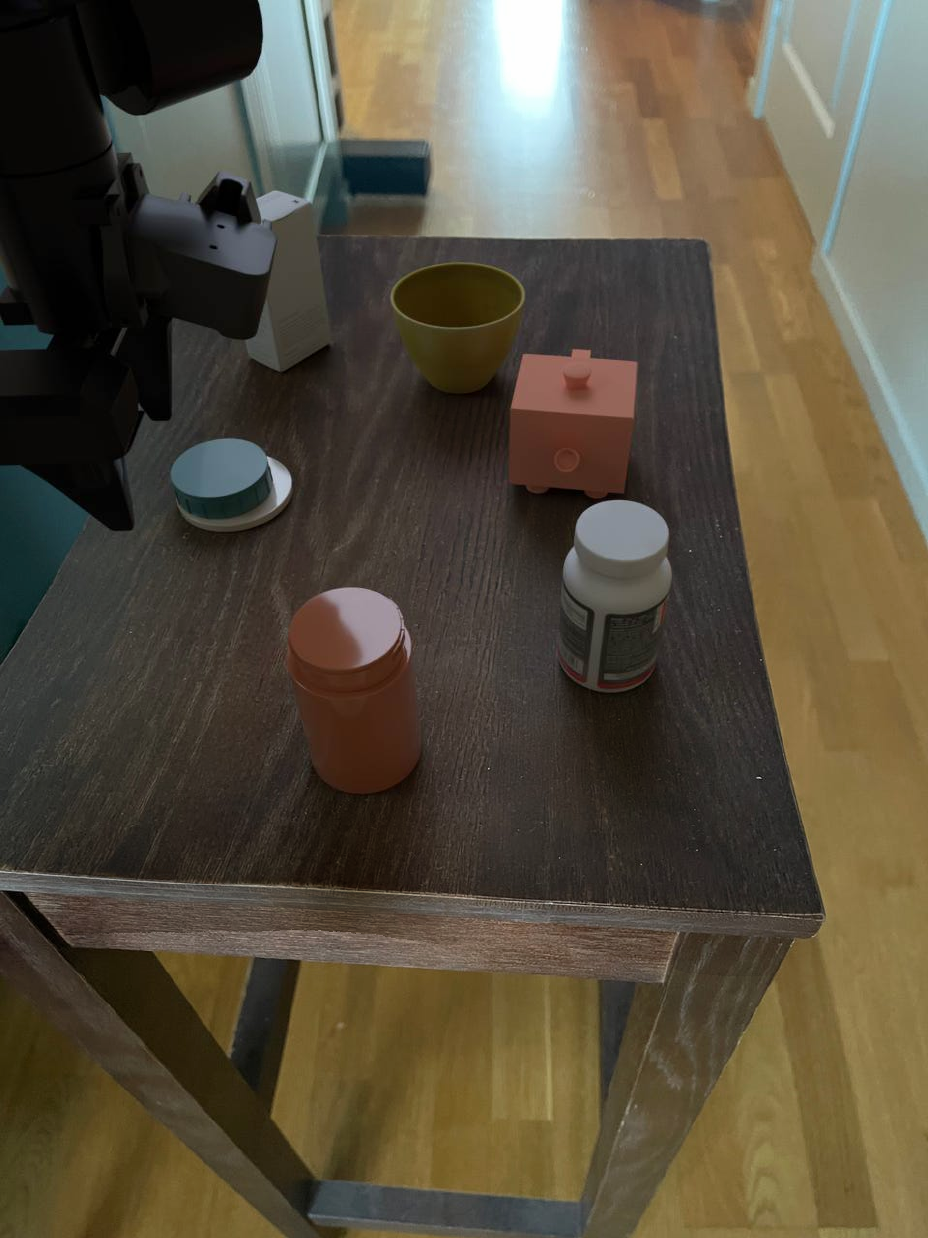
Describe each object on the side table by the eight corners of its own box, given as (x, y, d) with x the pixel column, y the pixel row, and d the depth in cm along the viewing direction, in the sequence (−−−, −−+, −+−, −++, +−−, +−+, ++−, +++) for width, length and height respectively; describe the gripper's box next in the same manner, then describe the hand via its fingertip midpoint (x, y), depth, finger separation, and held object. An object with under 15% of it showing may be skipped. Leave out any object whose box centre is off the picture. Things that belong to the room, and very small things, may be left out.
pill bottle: (664, 634, 54) (690, 505, 47) (645, 707, 51) (670, 579, 43) (570, 613, 56) (581, 484, 48) (544, 682, 52) (553, 554, 45)
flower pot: (542, 396, 71) (546, 311, 66) (420, 425, 69) (414, 339, 64) (495, 334, 78) (496, 252, 73) (382, 358, 76) (374, 276, 71)
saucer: (201, 547, 60) (198, 541, 60) (162, 483, 65) (160, 476, 65) (311, 505, 63) (310, 498, 63) (266, 446, 68) (265, 440, 67)
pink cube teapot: (502, 525, 61) (503, 422, 55) (523, 421, 69) (527, 321, 63) (619, 537, 60) (634, 433, 54) (627, 430, 68) (641, 328, 62)
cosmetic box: (298, 328, 79) (274, 185, 70) (335, 345, 77) (315, 199, 69) (245, 359, 76) (212, 213, 67) (282, 377, 74) (254, 228, 65)
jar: (347, 815, 46) (321, 698, 39) (290, 737, 50) (257, 617, 43) (443, 756, 49) (435, 636, 42) (383, 685, 52) (366, 563, 45)
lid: (157, 505, 63) (149, 483, 61) (212, 451, 67) (206, 429, 65) (239, 529, 61) (233, 507, 59) (290, 472, 65) (285, 450, 63)
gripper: (202, 250, 30) (280, 593, 41) (271, 70, 42) (315, 369, 54) (-144, 259, 29) (29, 600, 41) (30, 76, 42) (125, 374, 54)
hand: (144, 470), depth 47 cm, fingers open, 9 cm apart
